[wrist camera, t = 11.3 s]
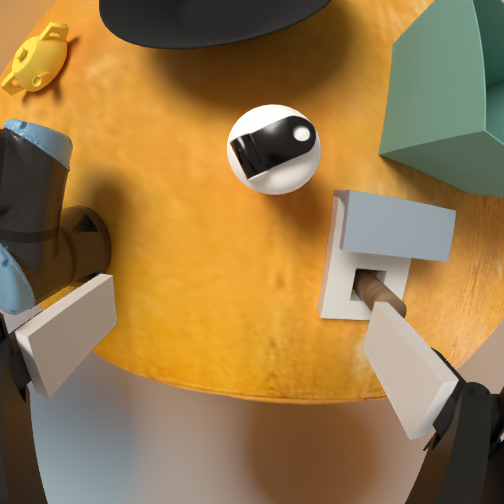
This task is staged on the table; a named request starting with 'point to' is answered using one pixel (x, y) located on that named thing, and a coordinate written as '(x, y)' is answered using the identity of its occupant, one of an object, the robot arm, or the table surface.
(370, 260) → the socket station
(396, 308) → the peg
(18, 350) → the robot arm
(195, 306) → the table surface
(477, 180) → the box
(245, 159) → the shaker bottle
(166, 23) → the bowl
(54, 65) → the teapot
